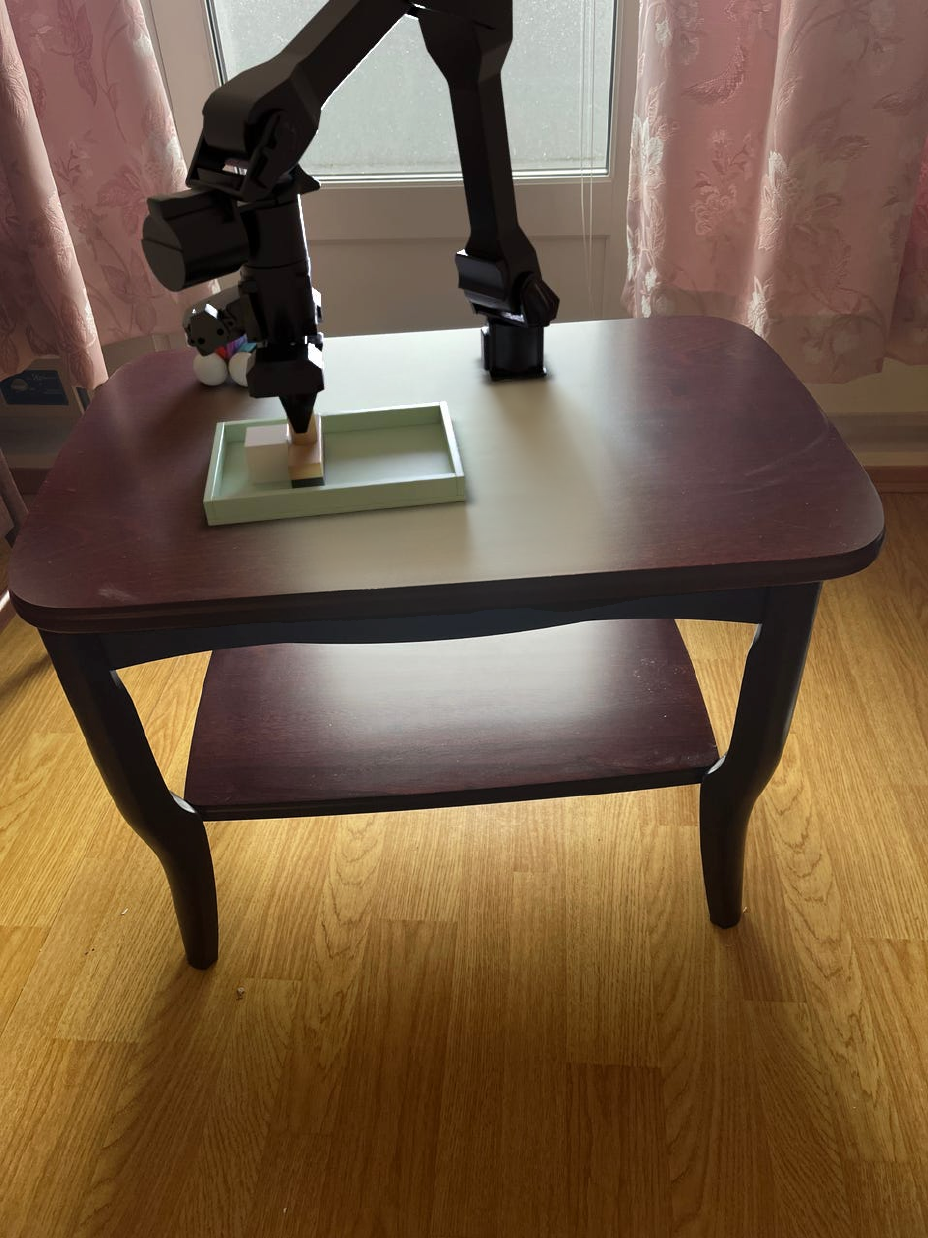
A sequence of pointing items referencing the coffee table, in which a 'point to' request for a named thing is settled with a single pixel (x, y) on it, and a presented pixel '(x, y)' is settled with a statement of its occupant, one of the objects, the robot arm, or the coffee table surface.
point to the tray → (344, 466)
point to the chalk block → (267, 453)
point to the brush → (307, 455)
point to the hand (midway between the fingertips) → (301, 425)
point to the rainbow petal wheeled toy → (225, 363)
